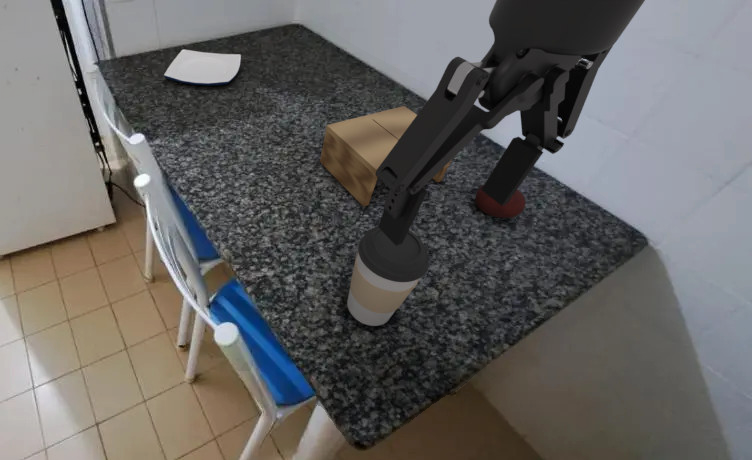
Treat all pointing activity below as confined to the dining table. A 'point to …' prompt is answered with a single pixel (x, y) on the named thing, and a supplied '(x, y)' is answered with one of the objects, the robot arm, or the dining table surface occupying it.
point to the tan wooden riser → (365, 149)
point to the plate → (203, 68)
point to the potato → (496, 209)
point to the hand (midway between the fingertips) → (444, 215)
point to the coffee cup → (384, 275)
